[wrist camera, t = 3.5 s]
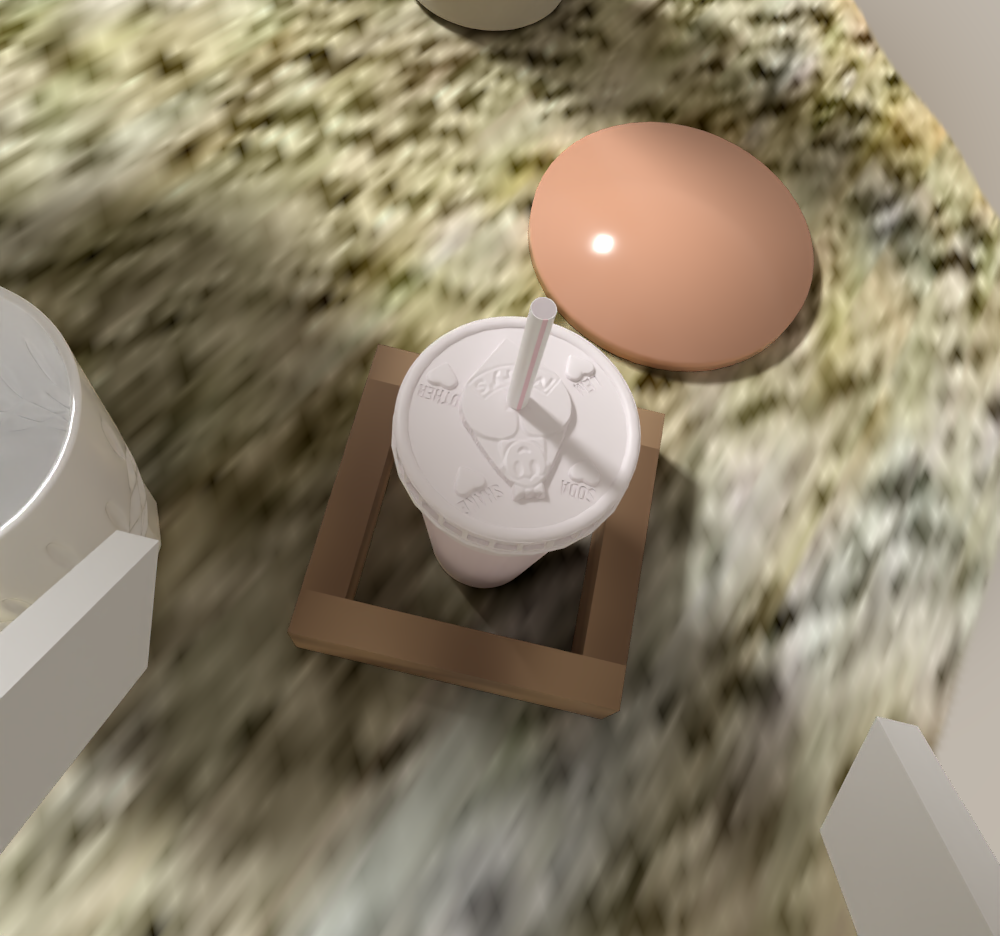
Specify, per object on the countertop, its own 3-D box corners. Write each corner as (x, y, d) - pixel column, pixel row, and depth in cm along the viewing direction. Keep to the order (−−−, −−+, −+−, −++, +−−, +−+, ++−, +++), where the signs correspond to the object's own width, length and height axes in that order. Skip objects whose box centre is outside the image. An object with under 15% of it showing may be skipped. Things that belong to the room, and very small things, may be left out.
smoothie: (557, 448, 32) (666, 200, 19) (585, 617, 29) (732, 465, 17) (385, 461, 31) (377, 208, 18) (400, 637, 29) (403, 491, 16)
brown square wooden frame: (296, 646, 28) (287, 631, 26) (379, 377, 32) (377, 343, 30) (601, 719, 28) (619, 711, 26) (645, 442, 32) (664, 414, 30)
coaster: (478, 184, 36) (479, 171, 35) (708, 104, 39) (714, 91, 38) (620, 416, 33) (625, 407, 32) (859, 308, 36) (869, 298, 35)
